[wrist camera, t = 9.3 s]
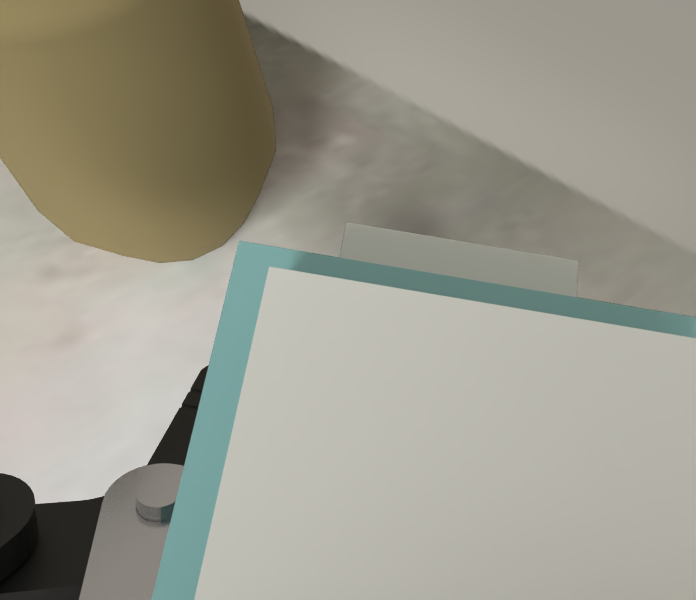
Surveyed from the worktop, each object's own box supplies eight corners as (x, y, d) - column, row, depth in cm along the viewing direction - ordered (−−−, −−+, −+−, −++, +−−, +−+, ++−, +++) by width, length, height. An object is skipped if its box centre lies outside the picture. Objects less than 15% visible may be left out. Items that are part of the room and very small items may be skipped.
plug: (271, 585, 16) (66, 848, 4) (308, 392, 17) (250, 118, 5) (433, 615, 15) (788, 991, 3) (456, 418, 17) (757, 201, 5)
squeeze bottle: (144, 67, 25) (-250, -861, 8) (323, 153, 24) (309, -690, 7) (19, 231, 23) (-898, -573, 6) (211, 334, 22) (-204, -266, 5)
